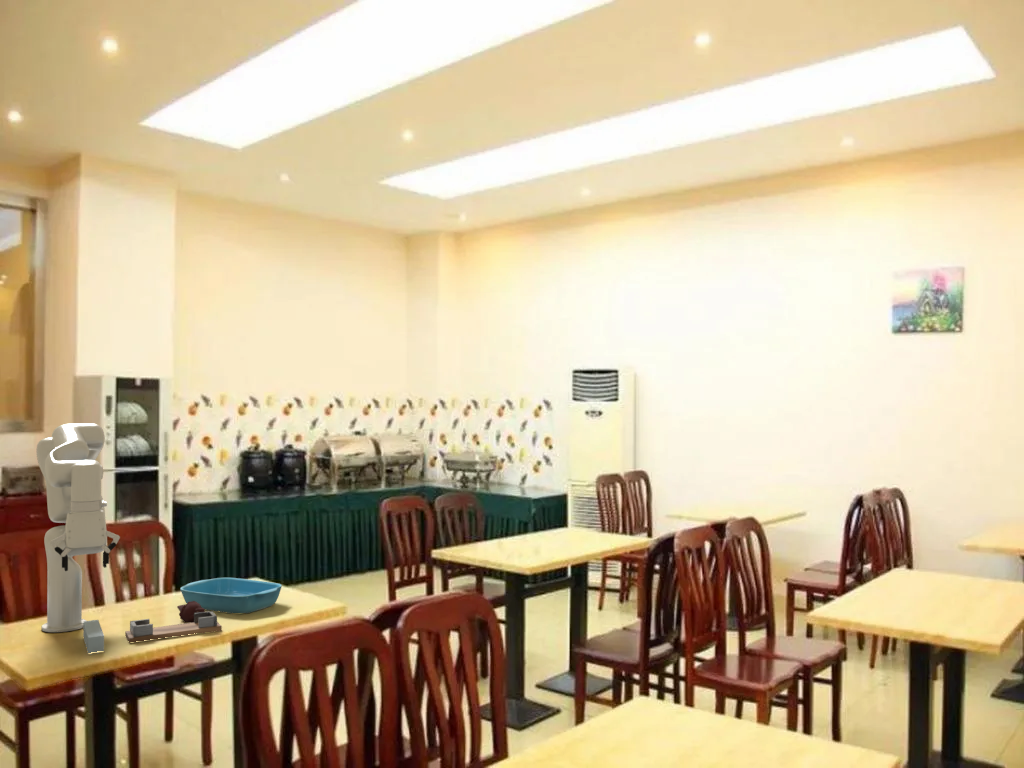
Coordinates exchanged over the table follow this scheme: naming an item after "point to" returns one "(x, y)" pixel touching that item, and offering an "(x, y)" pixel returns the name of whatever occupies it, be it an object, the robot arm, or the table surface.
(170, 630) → the board
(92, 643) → the slat
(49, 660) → the table surface
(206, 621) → the end caps
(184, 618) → the icecream
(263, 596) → the casserole dish
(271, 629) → the table surface
